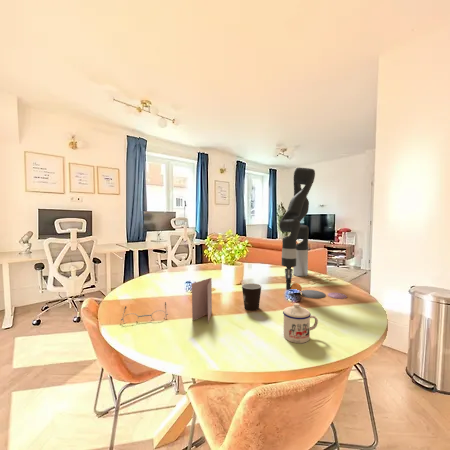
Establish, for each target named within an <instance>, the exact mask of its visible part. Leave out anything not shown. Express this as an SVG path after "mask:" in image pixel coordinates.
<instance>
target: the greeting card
mask: <svg viewBox="0 0 450 450" xmlns="http://www.w3.org/2000/svg"><path fill="white" fill-rule="evenodd" d="M212 282H213V281H212V277H209V278H206V279H203V280H200V281H196V282H193V283H191V313H192V316H191V317H192V319H191V320H192V322H193V320H194V321H196V320H199V319H200V318H202V317H204V316H207V323H209V322H210V319H211V316H212V312H213V307H212V306H213V301H212V299H213V298H212V297H213V294H212V293H213V292H212ZM195 319H196V320H195Z"/></svg>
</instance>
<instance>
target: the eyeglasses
mask: <svg viewBox="0 0 450 450" xmlns="http://www.w3.org/2000/svg"><path fill="white" fill-rule="evenodd" d="M164 304H165V306H167V302H166V301H165V302H164ZM126 308H127V306H125V307H124V310H123V313H122V317H121V319H120V321H122V322H123V323H124V322H125V320H124V318H125V317H127V315H129V313H127V314H125V310H126ZM165 309H166V310H165V311H164V310H159V312H162V313H164V314H165V316H164V318H166V316H168V315H169V314H168V313H167V307H165ZM154 313H157V310H155V311H153V312H152V313H151V314H143V315H138V314H136V313H131V315H136V316H137V318H143V317H144V318H145V317H151V319H152V320H153V319H154V318H153V317H152V316H153V314H154ZM124 314H125V315H124Z"/></svg>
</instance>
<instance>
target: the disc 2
mask: <svg viewBox="0 0 450 450" xmlns="http://www.w3.org/2000/svg"><path fill="white" fill-rule="evenodd" d="M327 296H328V297H329V298H333V299H335V300H336V299H337V300H338V299H339V300H343V299H344V298H345V299H347V298H348V296H347V295H346V294H345V293H340V292H328V293H327Z"/></svg>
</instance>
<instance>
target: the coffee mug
mask: <svg viewBox="0 0 450 450" xmlns="http://www.w3.org/2000/svg"><path fill="white" fill-rule="evenodd" d="M241 289H242V299H243V306H244V310H245V311H249V312H254V311H258V310H259V309H260V302H261V293H262V285H261V284H259V283H253V282H251V283H249V282H248V283H244V284H241Z"/></svg>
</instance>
